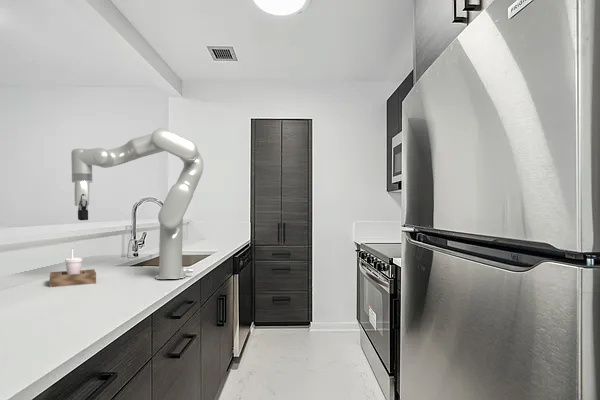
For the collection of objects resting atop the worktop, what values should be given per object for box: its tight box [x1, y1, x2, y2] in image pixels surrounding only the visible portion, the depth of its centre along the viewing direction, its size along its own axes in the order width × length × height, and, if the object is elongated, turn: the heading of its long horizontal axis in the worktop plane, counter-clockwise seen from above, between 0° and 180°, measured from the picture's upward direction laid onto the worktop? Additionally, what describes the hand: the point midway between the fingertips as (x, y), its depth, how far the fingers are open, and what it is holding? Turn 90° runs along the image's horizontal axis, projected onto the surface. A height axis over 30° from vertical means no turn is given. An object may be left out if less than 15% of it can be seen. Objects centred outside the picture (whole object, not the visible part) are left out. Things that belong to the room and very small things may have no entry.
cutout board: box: [49, 268, 97, 288], centre depth 166 cm, size 16×12×4 cm
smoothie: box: [64, 248, 84, 275], centre depth 166 cm, size 6×6×14 cm
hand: (83, 219), depth 169 cm, fingers open, 9 cm apart
